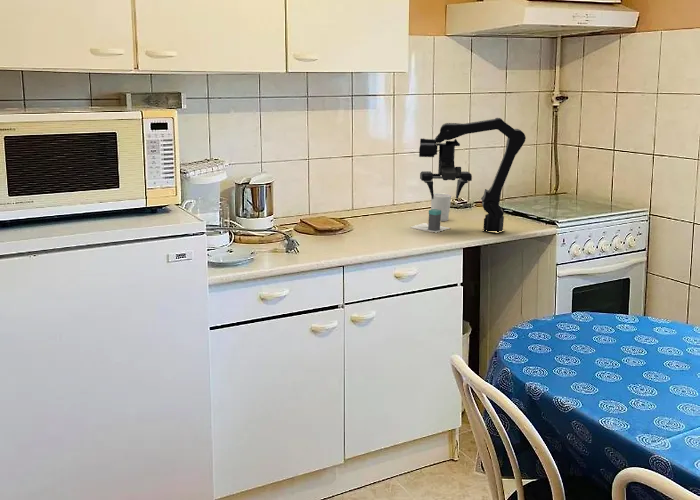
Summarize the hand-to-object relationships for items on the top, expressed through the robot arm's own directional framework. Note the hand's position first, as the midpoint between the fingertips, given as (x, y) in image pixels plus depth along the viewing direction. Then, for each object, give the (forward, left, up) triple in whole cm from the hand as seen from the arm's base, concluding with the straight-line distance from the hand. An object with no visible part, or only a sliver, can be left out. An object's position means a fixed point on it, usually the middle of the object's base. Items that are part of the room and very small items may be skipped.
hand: (444, 198), depth 289 cm
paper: (+4, +3, -12) cm, 13 cm away
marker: (+1, +5, -11) cm, 12 cm away
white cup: (+10, -13, -12) cm, 21 cm away
